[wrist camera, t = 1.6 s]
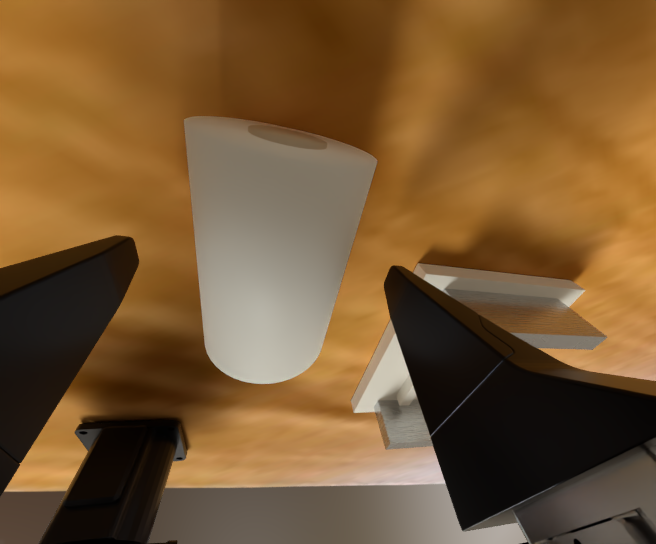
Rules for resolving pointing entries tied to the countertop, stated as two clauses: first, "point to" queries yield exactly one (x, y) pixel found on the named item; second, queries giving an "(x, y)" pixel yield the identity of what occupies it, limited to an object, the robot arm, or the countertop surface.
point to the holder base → (387, 361)
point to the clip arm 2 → (533, 319)
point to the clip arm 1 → (402, 424)
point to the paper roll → (270, 239)
